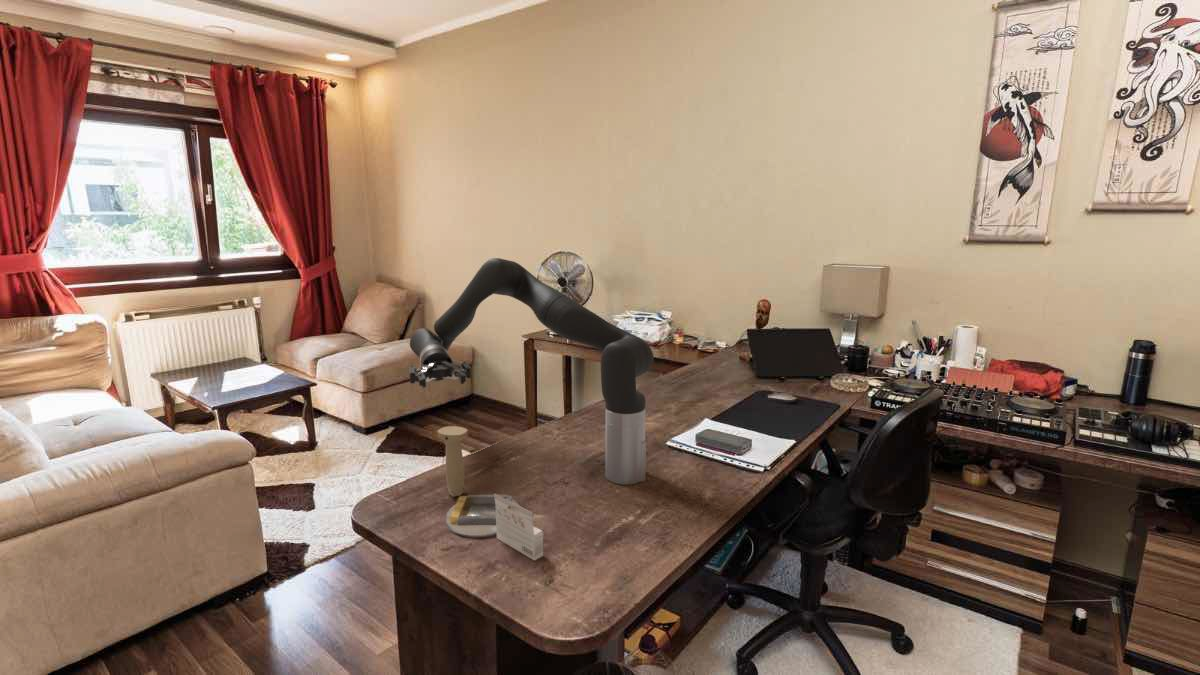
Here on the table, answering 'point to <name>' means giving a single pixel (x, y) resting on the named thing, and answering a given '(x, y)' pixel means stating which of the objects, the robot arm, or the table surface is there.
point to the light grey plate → (475, 515)
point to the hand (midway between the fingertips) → (443, 381)
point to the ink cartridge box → (518, 528)
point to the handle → (454, 458)
